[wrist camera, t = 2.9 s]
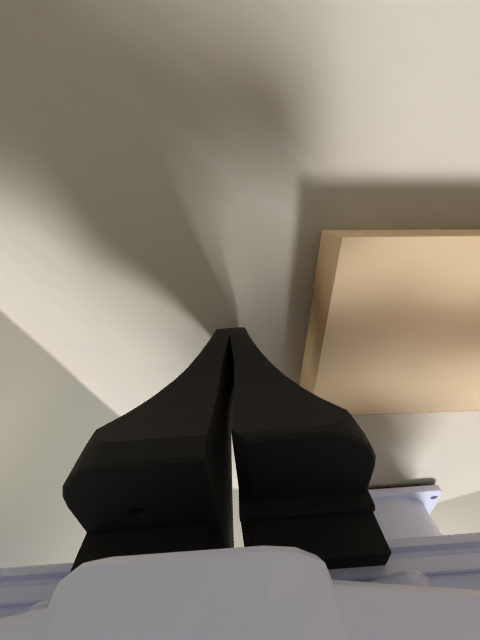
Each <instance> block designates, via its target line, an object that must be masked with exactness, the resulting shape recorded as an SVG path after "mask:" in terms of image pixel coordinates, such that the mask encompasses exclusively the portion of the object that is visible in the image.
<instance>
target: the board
mask: <svg viewBox="0 0 480 640" xmlns="http://www.w3.org/2000/svg"><path fill="white" fill-rule="evenodd" d="M299 386H301V387H302V388H304V389H306V390H307V391H309V392H311V393H313V394H315V395H316V396H318V397H320V398H322V399H324V400H326V401H328V402H331V403H333V404H335V405H337V406H339V407H341V408H344V409H346V410H348V412H349V413H350V414H351V415H364V414H398V413H432V412H465V411H480V229H381V230H322V233H321V240H320V247H319V254H318V261H317V268H316V274H315V281H314V288H313V295H312V302H311V309H310V316H309V323H308V330H307V336H306V343H305V350H304V357H303V364H302V371H301V378H300V385H299Z"/></svg>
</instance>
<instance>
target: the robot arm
mask: <svg viewBox="0 0 480 640" xmlns="http://www.w3.org/2000/svg"><path fill="white" fill-rule="evenodd" d="M232 414H233V415H232ZM231 426H232V427H231ZM231 432H232V440H233V448H234V455H235V463H236V470H237V478H238V486H239V515H240V521H241V526H242V533H243V540H244V547H240V548H234V541H233V540H234V538H233V506H232V505H233V504H232V461H231ZM375 457H376V456H375V454H374V451H373V448H372V446H371V445H370V443H369V441H368V439H367V437H366V436H365V434H364V432H363V431H362V430H361V428H360V427H359V425H358V424H357V423H356V421H355V420H354V418H353V417H352V416H351V414H350V413H349V412H348V410H346V409H344V408H341V407H339V406H337V405H335V404H333V403H331V402H328V401H326V400H324V399H322V398H320V397H318V396H316V395H315V394H313V393H311V392H309V391H307V390H306V389H304V388H302V387H301V386H299V385H298V384H296V383H295V382H293V381H292V380H291V379H289V378H288V377H286V376H285V375H284V374H283V373H281V372H280V371H279V370H278V369H277V368H276V367H275V366H274V365H273V364H272V363H271V362H270V361H269V360H268V359H267V358H266V357H265V356H264V355H263V354H262V353H261V352H260V350H259V349H258V348H257V346H256V345H255V344H254V342H253V341H252V339H251V338H250V336H249V334H248V333H247V330H246V329H245V328H244V327H241V328H228V329H217V330H216V331H215V332H214V334H213V336H212V337H211V339H210V340H209V342H208V343H207V345H206V346H205V347H204V349H203V350H202V351H201V353H200V354H199V355H198V356H197V357H196V359H195V360H194V361H193V362H192V363H191V364H190V366H189V367H188V368H187V369H186V370H185V371H184V372H183V373H182V374H181V375H180V376H178V377H177V378H176V379H175V380H174V381H173V382H171V383H170V384H169V385H168V386H166V387H165V388H164V389H162V390H161V391H160V392H159V393H157V394H156V395H155V396H153V397H152V398H150V399H149V400H147V401H146V402H144V403H143V404H141V405H140V406H138V407H136V408H135V409H133V410H131V411H130V412H128V413H126V414H125V415H123V416H121V417H119V418H117V419H116V420H114V421H112V422H110V423H108V424H106V425H104V426H103V427H101V428H99V429H97V430H96V431H95V432H94V434H93V435H92V437H91V438H90V440H89V441H88V443H87V444H86V446H85V448H84V450H83V451H82V453H81V455H80V457H79V458H78V460H77V462H76V464H75V466H74V467H73V469H72V471H71V473H70V474H69V476H68V478H67V479H66V481H65V483H64V485H63V498H64V500H65V502H66V504H67V506H68V508H69V509H70V510H71V512H72V513H73V514H74V515H75V517H76V518H77V519H78V521H79V522H80V524H81V525H82V526H83V528H84V529H85V530H86V532H87V534H86V536H85V538H84V541H83V543H82V546H81V548H80V550H79V552H78V554H77V557H76V559H75V562H74V563H62V564H48V565H35V566H22V567H8V568H0V640H480V533H468V534H455V535H442V534H441V532H440V530H439V529H438V527H437V526H436V524H435V522H434V521H433V520H432V518H431V516H430V513H431V511H432V510H433V508H434V506H435V504H436V503H437V501H438V499H439V497H440V496H441V494H442V490H441V489H440V487H439V486H437V485H426V486H412V487H399V488H385V489H371V490H368V486H369V483H370V479H371V476H372V473H373V469H374V466H375Z"/></svg>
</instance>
